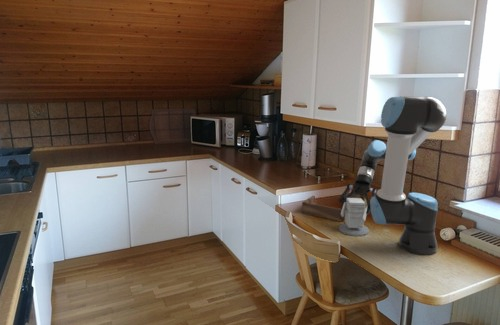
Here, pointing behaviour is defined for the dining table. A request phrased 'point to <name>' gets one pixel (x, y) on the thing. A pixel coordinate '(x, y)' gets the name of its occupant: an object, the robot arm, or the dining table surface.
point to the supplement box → (354, 212)
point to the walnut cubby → (321, 210)
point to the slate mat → (353, 230)
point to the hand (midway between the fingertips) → (352, 217)
